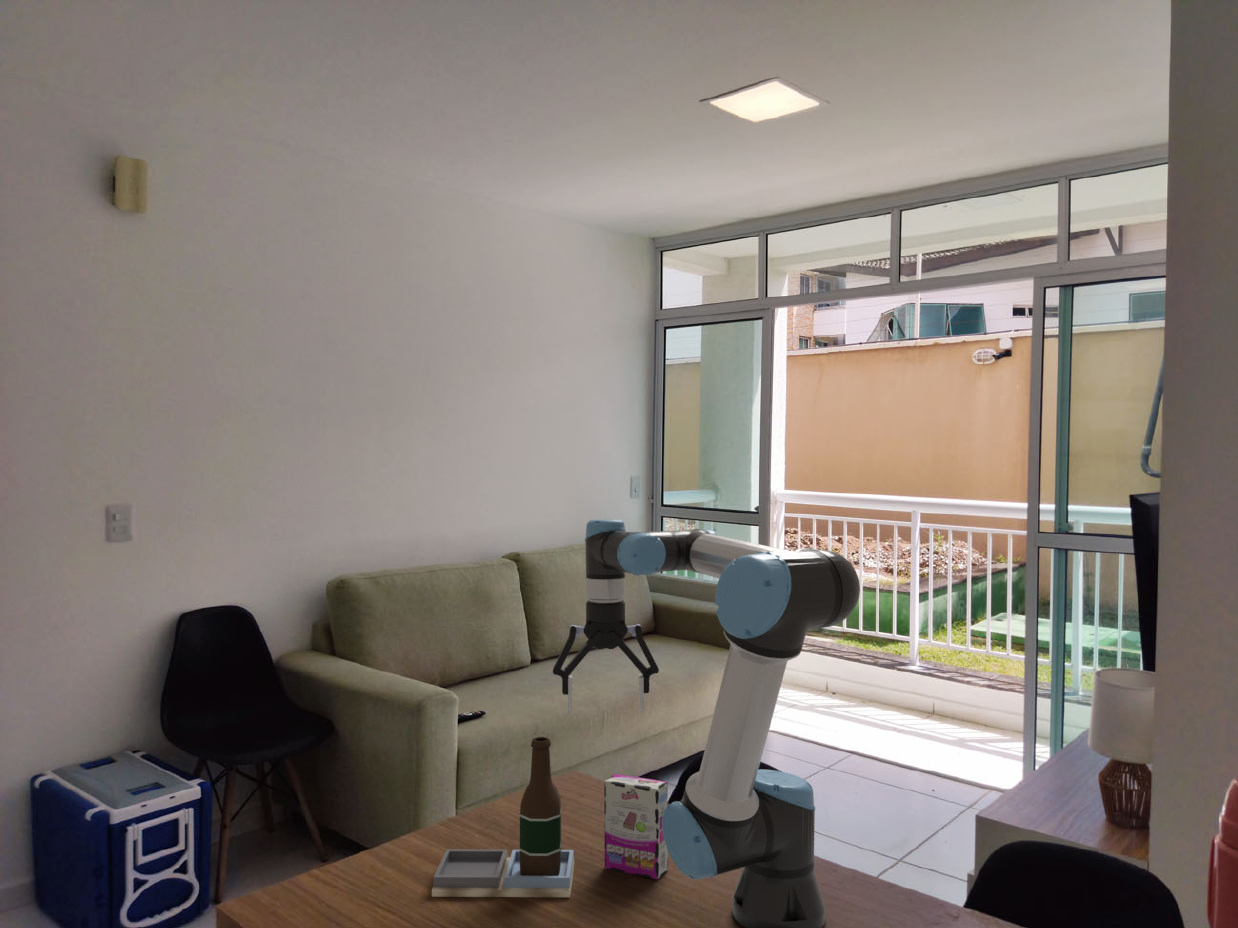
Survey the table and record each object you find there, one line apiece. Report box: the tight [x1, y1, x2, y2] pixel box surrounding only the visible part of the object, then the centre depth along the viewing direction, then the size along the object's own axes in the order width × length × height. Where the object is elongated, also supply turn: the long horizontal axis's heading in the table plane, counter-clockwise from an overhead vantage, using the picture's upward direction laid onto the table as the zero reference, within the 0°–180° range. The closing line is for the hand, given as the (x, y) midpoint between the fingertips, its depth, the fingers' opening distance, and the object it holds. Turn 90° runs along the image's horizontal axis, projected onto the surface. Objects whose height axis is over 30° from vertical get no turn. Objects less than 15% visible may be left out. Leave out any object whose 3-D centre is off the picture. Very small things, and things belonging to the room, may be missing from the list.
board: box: [431, 856, 575, 898], centre depth 160 cm, size 24×13×1 cm, turn 90°
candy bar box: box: [603, 773, 669, 880], centre depth 164 cm, size 11×5×16 cm, turn 64°
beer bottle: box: [519, 736, 562, 876], centre depth 160 cm, size 8×8×24 cm
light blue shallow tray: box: [504, 849, 575, 888], centre depth 160 cm, size 11×11×2 cm
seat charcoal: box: [432, 848, 508, 888], centre depth 160 cm, size 11×11×2 cm
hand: (605, 710), depth 170 cm, fingers open, 13 cm apart
